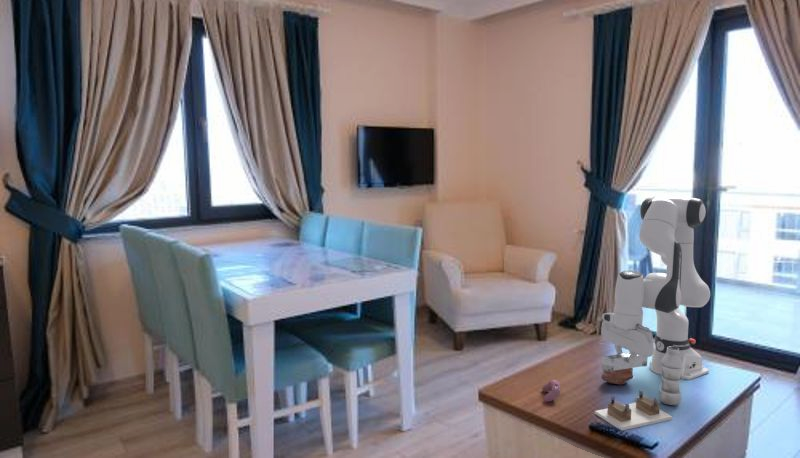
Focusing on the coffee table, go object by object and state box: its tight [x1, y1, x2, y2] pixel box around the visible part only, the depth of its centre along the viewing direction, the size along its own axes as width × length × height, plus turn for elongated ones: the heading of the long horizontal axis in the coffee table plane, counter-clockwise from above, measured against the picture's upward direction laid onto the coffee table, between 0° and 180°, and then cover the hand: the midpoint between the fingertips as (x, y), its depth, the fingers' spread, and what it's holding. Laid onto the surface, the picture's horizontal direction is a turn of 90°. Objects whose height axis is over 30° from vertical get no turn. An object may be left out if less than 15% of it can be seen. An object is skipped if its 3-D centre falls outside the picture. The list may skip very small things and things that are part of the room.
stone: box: [601, 368, 634, 385], centre depth 200 cm, size 13×8×10 cm
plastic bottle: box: [658, 346, 683, 406], centre depth 183 cm, size 6×7×20 cm
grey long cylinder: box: [601, 352, 648, 372], centre depth 176 cm, size 18×4×4 cm, turn 110°
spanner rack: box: [594, 389, 674, 431], centre depth 174 cm, size 21×12×6 cm, turn 111°
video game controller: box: [541, 379, 562, 403], centre depth 189 cm, size 10×5×7 cm, turn 169°
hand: (625, 360), depth 176 cm, fingers closed on grey long cylinder, 3 cm apart
